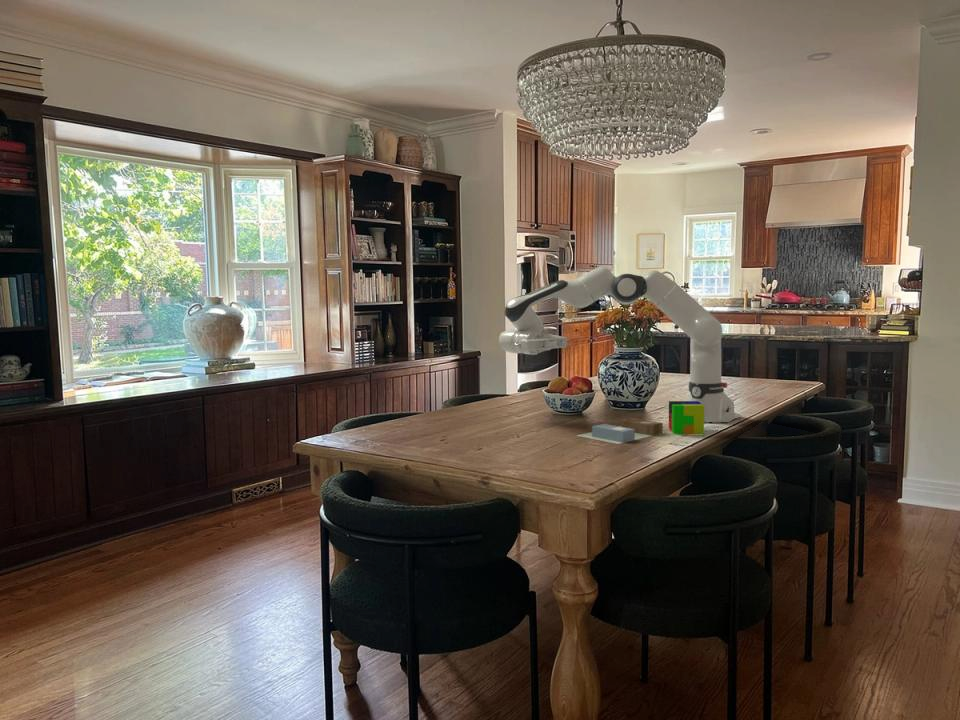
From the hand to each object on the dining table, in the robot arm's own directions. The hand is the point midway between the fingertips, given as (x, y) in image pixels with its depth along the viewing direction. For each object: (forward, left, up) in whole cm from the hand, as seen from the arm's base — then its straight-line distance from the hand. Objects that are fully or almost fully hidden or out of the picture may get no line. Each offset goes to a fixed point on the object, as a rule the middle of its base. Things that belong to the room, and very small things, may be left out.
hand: (558, 344), depth 253 cm
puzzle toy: (-24, +37, -30) cm, 54 cm away
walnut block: (-12, +21, -28) cm, 37 cm away
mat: (-5, +25, -30) cm, 39 cm away
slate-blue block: (+3, +21, -28) cm, 35 cm away
